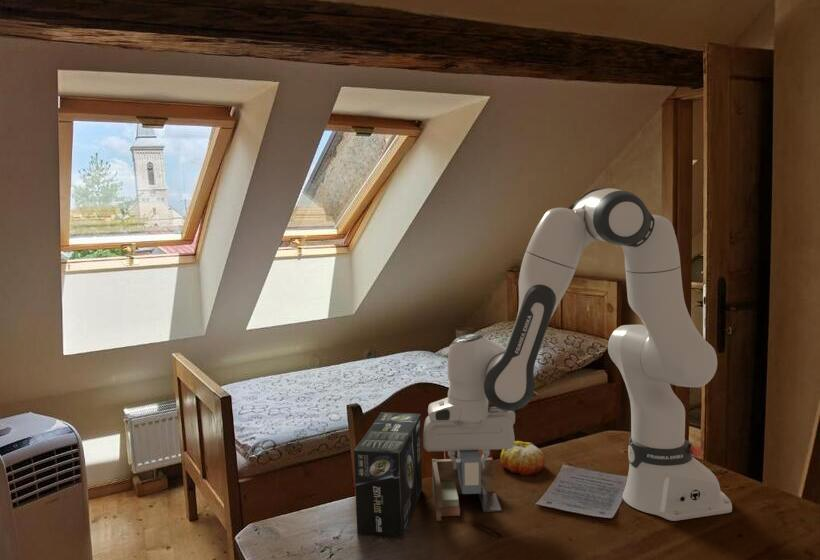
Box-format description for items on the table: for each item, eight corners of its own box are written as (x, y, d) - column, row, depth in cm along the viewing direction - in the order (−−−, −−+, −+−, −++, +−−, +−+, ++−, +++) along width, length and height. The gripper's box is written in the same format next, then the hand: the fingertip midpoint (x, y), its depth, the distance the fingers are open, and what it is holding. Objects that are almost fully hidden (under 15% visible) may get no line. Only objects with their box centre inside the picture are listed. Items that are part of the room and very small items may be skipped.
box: (403, 540, 131) (400, 450, 129) (356, 536, 133) (352, 448, 131) (423, 489, 154) (421, 412, 151) (382, 487, 156) (380, 410, 153)
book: (474, 474, 150) (474, 440, 149) (481, 493, 139) (480, 458, 139) (457, 474, 149) (457, 441, 149) (462, 494, 139) (462, 458, 138)
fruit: (501, 476, 159) (499, 442, 160) (500, 471, 169) (499, 439, 171) (547, 476, 158) (545, 442, 159) (544, 471, 168) (542, 439, 169)
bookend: (495, 494, 150) (495, 478, 150) (501, 511, 142) (501, 493, 142) (478, 495, 150) (478, 478, 150) (483, 511, 142) (483, 494, 142)
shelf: (491, 489, 153) (491, 456, 152) (501, 518, 139) (501, 482, 138) (432, 491, 153) (431, 459, 152) (436, 520, 139) (435, 485, 138)
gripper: (512, 401, 146) (512, 460, 148) (421, 404, 145) (422, 463, 147) (517, 410, 140) (518, 472, 141) (423, 413, 139) (424, 475, 141)
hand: (468, 467), depth 144 cm, fingers closed on book, 4 cm apart
